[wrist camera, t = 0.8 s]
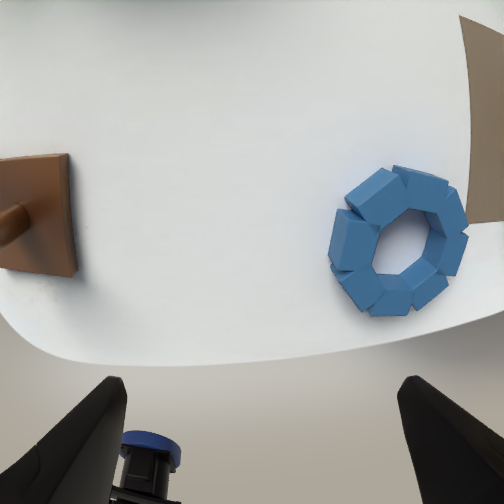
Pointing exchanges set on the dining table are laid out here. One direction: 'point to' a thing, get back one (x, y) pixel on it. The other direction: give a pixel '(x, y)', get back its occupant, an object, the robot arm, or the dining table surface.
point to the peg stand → (36, 215)
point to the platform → (485, 121)
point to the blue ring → (378, 217)
